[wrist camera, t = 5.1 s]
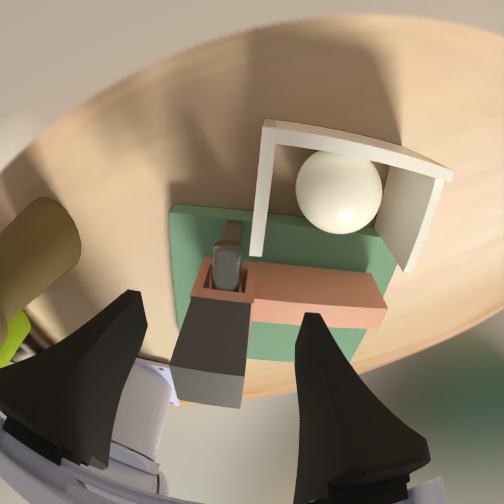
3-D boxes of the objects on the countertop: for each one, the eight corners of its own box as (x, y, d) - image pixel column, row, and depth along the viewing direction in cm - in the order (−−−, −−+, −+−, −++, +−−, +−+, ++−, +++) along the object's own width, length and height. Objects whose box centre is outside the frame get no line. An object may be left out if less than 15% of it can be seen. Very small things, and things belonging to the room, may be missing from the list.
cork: (25, 244, 17) (-55, 330, 8) (30, 184, 14) (-81, 267, 5) (75, 281, 18) (2, 388, 9) (87, 222, 16) (-22, 340, 6)
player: (207, 284, 15) (175, 398, 9) (207, 247, 14) (166, 364, 8) (361, 299, 15) (395, 406, 9) (374, 265, 14) (423, 375, 8)
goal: (254, 211, 15) (248, 262, 10) (264, 118, 12) (262, 127, 8) (380, 228, 15) (416, 279, 10) (402, 146, 12) (454, 171, 8)
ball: (306, 122, 10) (292, 160, 14) (301, 218, 10) (286, 234, 14) (394, 142, 10) (362, 172, 14) (398, 232, 10) (360, 243, 14)
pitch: (184, 337, 20) (181, 349, 19) (175, 204, 15) (168, 212, 14) (346, 352, 20) (348, 363, 19) (397, 231, 15) (405, 241, 14)
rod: (219, 354, 19) (212, 393, 16) (223, 217, 14) (210, 252, 11) (235, 357, 19) (230, 395, 16) (247, 220, 14) (241, 256, 11)
